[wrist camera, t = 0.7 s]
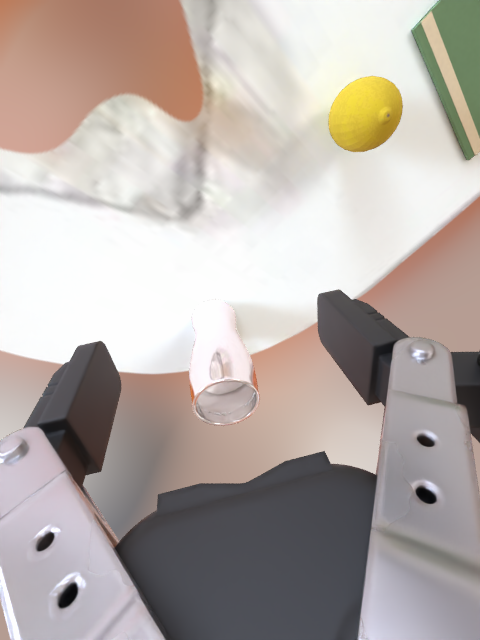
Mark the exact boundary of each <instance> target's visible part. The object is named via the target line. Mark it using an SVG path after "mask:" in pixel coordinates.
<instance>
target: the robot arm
mask: <svg viewBox="0 0 480 640" xmlns="http://www.w3.org/2000/svg"><path fill="white" fill-rule="evenodd" d="M317 305H318V333H319V337H320V340H321V342H322V344H323V346H324V347H325V348H326V350H327V351H328V352H329V354H330V355H331V356H332V358H333V359H334V360H335V362H336V363H337V365H338V366H339V367H340V369H342V371H343V373H344V374H345V375H346V377H347V378H348V379H349V381H350V382H351V383H352V385H353V386H354V387H355V389H356V390H357V391H358V393H359V394H360V395H361V397H362V398H363V399H364V401H365V402H366V403H367V405H372V404H375V403H379V402H382V404H383V405H384V406H385V409H384V416H383V424H382V432H381V439H380V447H379V455H378V463H377V470H376V475H375V474H373V473H370V472H368V471H366V470H363V469H360V468H356V467H352V466H347V465H339V464H330V462H329V459H328V457H327V455H326V453H325V451H323V452H319V453H315V454H312V455H308V456H304V457H300V458H296V459H292V460H289V461H285V462H283V463H282V464H279V465H278V466H276V467H274V468H272V469H271V470H269V471H267V472H265V473H263V474H262V475H260V476H258V477H256V478H254V479H253V480H251V481H249V482H246V483H242V484H197V485H193V486H190V487H185V488H182V489H178V490H174V491H170V492H166V493H162V494H158V504H157V511H155V512H153V513H151V514H150V515H148V516H147V517H146V518H144V519H143V520H141V521H140V522H139V523H138V524H137V525H135V526H134V527H133V528H132V529H131V530H130V531H129V532H128V533H127V534H126V535H125V536H124V537H123V538H122V539H121V540H120V541H119V540H118V538H117V537H116V535H115V534H114V533H113V531H112V529H111V528H110V526H109V525H108V523H107V522H106V520H105V519H104V517H103V516H102V514H101V512H100V511H99V509H98V508H97V506H96V504H95V503H94V501H93V500H92V499H91V497H90V495H89V494H88V492H87V490H86V489H85V488H84V486H83V482H84V479H85V475H89V474H93V473H97V472H101V470H102V466H103V462H104V458H105V453H106V449H107V445H108V441H109V437H110V433H111V429H112V425H113V421H114V417H115V413H116V409H117V405H118V401H119V397H120V393H121V380H120V376H119V373H118V371H117V369H116V367H115V365H114V363H113V361H112V358H111V356H110V354H109V352H108V350H107V348H106V346H105V344H104V343H103V342H102V341H99V342H94V343H89V344H85V345H80V346H78V347H77V348H76V350H75V352H74V354H73V356H72V358H71V360H70V362H67V363H65V364H64V365H63V366H62V367H61V368H60V369H59V370H58V371H57V372H56V373H54V375H53V377H52V378H51V380H50V382H49V384H48V387H46V389H45V391H44V393H43V394H42V395H43V397H41V398H40V399H39V401H38V403H37V405H36V406H35V408H34V410H33V412H32V414H31V415H30V417H29V419H28V421H27V423H26V424H25V426H24V428H23V429H20V430H17V431H15V432H13V433H11V434H9V435H7V436H6V437H4V438H3V439H1V440H0V598H1V602H2V607H3V611H4V615H5V618H6V623H7V627H8V631H9V634H10V638H11V640H480V495H479V488H478V481H477V474H476V467H475V461H474V453H473V447H472V440H471V434H472V435H473V436H474V437H475V438H476V439H477V440H478V441H479V442H480V351H479V352H450V351H449V350H448V349H447V348H446V347H445V346H444V345H442V344H441V343H439V342H436V341H434V340H430V339H426V338H421V337H408V336H407V335H406V334H405V333H404V332H402V331H401V330H400V329H399V328H397V327H396V326H395V325H394V324H392V323H391V322H390V321H389V320H388V319H385V318H384V316H383V315H381V314H380V313H377V311H376V310H375V309H374V308H373V307H371V306H370V305H369V304H367V303H364V302H362V301H359V300H357V299H354V300H351V299H350V298H349V297H348V296H347V295H346V294H344V293H343V292H342V291H341V290H334V291H330V292H325V293H321V294H319V295H318V299H317Z"/></svg>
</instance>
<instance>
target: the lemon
mask: <svg viewBox="0 0 480 640" xmlns="http://www.w3.org/2000/svg"><path fill="white" fill-rule="evenodd" d="M402 107H403V105H402V97H401V94H400V92H399V90H398V89H397V87H396V86H395V85H394V84H393V83H392V82H390V81H388V80H387V79H385V78H382V77H375V76H369V77H364V78H360V79H358V80H356V81H354V82H352V83H350V84H348V85H347V86H346V87H345V88H344V89H343V90H342V91H341V92H340V93H339V94H338V96H337V97H336V99H335V100H334V103H333V105H332V107H331V110H330V114H329V130H330V133H331V136H332V138H333V139H334V141H335V142H336V143H337V145H339V146H340V147H342V148H343V149H345V150H348V151H352V152H364V151H368V150H371V149H374V148H376V147H378V146H379V145H381V144H383V143H384V142H385V141H386V140H387V139H388V138H389V137H390V136H391V135H392V134H393V132H394V131H395V130H396V128H397V126H398V124H399V122H400V119H401V115H402Z"/></svg>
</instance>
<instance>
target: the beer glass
mask: <svg viewBox="0 0 480 640" xmlns="http://www.w3.org/2000/svg"><path fill="white" fill-rule="evenodd" d="M192 326H193V329H194V331H195V341H194V345H193V349H192V354H191V359H190V368H189V379H190V390H191V397H192V408H193V412H194V414H195V415H196V416H197V417H198V418H199V419H200V420H201V421H203V422H205V423H207V424H211V425H218V426H225V425H232V424H235V423H239V422H241V421H243V420H245V419H247V418H248V417H250V416H251V415H252V414H253V413H254V412H255V411H256V409H257V407H258V405H259V402H260V395H259V392H258V385H257V379H256V374H255V370H254V365H253V362H252V359H251V357H250V354H249V352H248V350H247V348H246V346H245V344H244V342H243V341H242V339H241V337H240V335H239V334H238V332H237V330H236V314H235V311H234V309H233V308H232V307H231V305H229V304H228V303H226V302H224V301H221V300H208V301H205V302H203V303H201V304H200V305H198V306H197V307H196V309H195V310H194V312H193V314H192Z"/></svg>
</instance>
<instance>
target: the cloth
mask: <svg viewBox="0 0 480 640" xmlns="http://www.w3.org/2000/svg"><path fill="white" fill-rule="evenodd" d="M412 33H413V36H414V38H415V40H416V43H417V45H418V47H419V50H420V52H421V54H422V57H423V59H424V61H425V64H426V66H427V68H428V71H429V73H430V76H431V78H432V80H433V83H434V85H435V87H436V90H437V92H438V94H439V97H440V99H441V101H442V104H443V106H444V108H445V111H446V113H447V115H448V118H449V120H450V123H451V125H452V127H453V130H454V132H455V134H456V137H457V139H458V141H459V144H460V146H461V148H462V151H463V153H464V155H465V158H466V160H470V159H471V158H472V157H473V156H475V155H476V154H478V153H479V152H480V0H439V1H438V2H437V3H436V4H435V5H434V6H433V7H432V9H431V10H430V11H429V12H428V13H427V14H426V15H425V16H424V17H423V18H422V19H421V21H420V22H419V23H418V24H417V25H416V26H415V27H414V28H413V29H412Z"/></svg>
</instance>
